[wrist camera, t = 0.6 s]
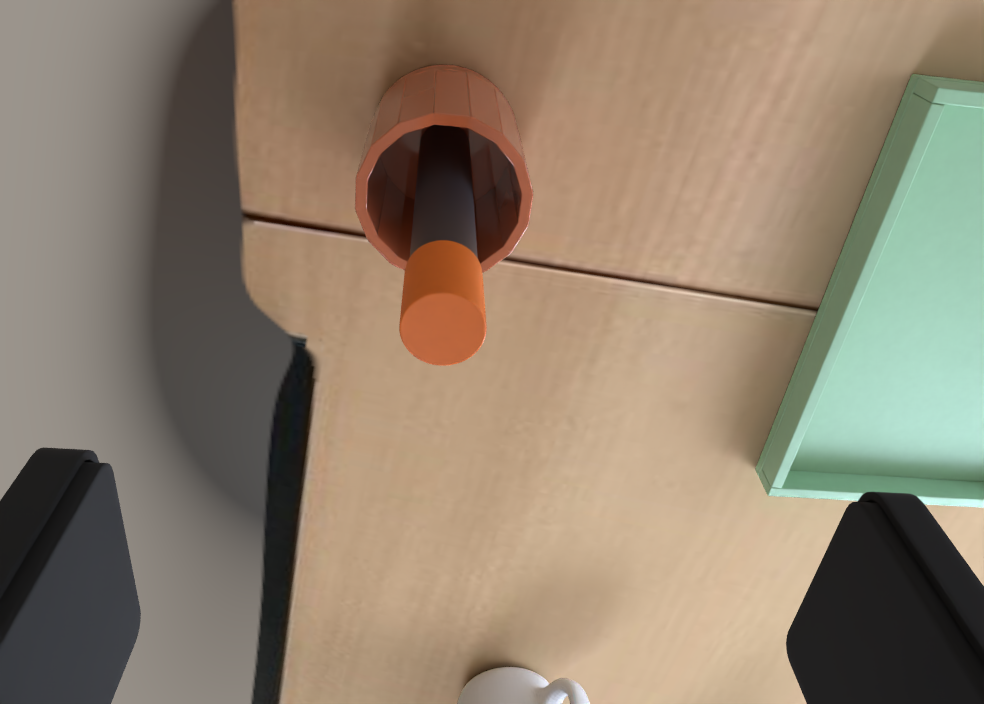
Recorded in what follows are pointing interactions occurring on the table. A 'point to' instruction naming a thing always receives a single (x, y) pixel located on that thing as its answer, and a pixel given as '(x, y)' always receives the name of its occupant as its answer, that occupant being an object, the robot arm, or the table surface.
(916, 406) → the tray
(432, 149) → the marker
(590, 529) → the table surface
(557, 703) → the cup
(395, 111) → the pen cup
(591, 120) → the table surface
